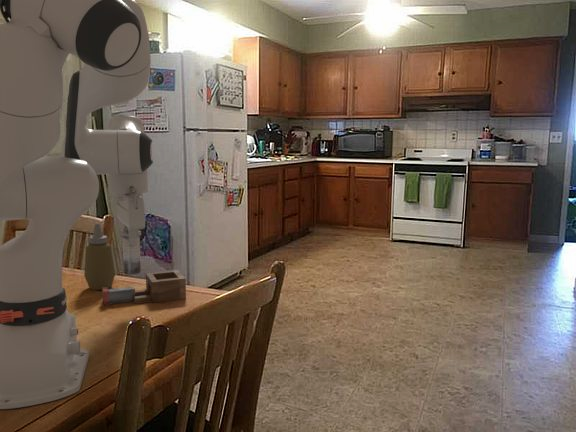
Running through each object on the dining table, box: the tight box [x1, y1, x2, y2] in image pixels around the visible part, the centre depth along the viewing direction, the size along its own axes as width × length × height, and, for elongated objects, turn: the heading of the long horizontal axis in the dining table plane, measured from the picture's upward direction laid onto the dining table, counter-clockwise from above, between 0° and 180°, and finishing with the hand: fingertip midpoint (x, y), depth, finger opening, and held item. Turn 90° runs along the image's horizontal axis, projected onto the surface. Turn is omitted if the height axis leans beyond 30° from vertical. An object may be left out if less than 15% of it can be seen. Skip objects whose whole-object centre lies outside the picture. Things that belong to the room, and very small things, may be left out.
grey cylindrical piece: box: [119, 230, 142, 275], centre depth 124 cm, size 5×5×10 cm
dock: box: [133, 269, 187, 304], centre depth 135 cm, size 9×13×6 cm
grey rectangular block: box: [101, 285, 136, 307], centre depth 130 cm, size 4×8×4 cm, turn 116°
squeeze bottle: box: [84, 222, 116, 291], centre depth 140 cm, size 8×8×18 cm
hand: (131, 242), depth 123 cm, fingers closed on grey cylindrical piece, 4 cm apart
